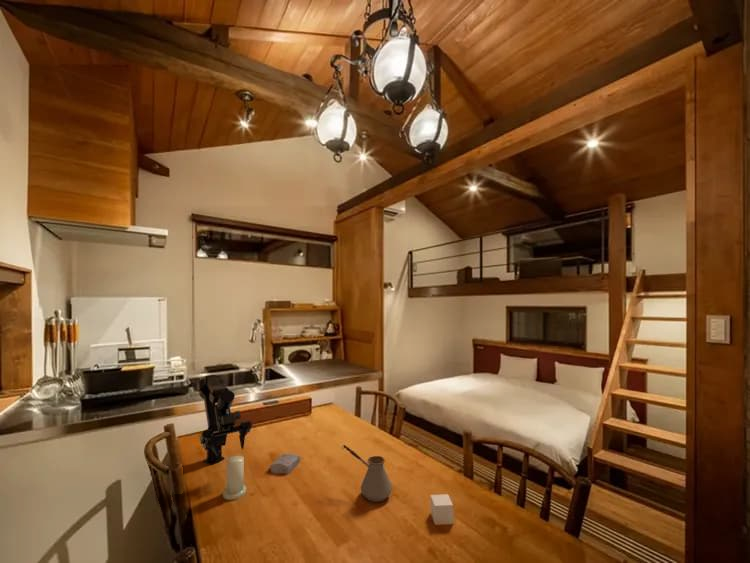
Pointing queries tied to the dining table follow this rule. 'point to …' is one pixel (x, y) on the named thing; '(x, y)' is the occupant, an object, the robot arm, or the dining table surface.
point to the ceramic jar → (234, 478)
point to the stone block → (285, 463)
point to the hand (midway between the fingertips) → (230, 452)
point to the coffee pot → (374, 478)
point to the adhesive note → (441, 509)
